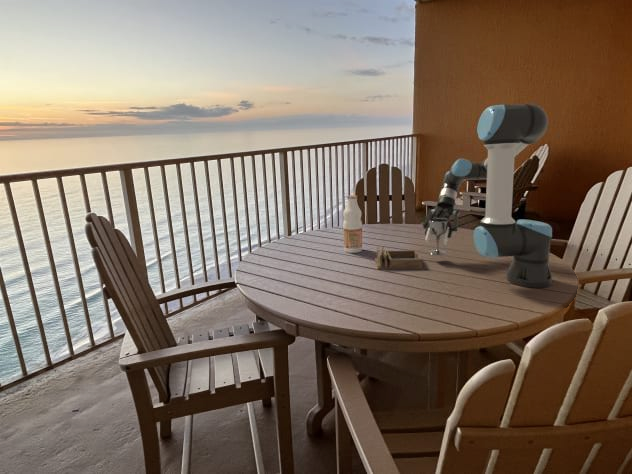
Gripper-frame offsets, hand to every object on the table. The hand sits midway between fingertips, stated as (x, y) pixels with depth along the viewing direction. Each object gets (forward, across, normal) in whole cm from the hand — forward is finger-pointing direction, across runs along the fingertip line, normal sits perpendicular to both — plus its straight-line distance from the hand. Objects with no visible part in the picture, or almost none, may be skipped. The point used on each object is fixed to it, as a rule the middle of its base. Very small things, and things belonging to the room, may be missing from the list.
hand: (435, 242), depth 166 cm
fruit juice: (+5, +42, -8) cm, 43 cm away
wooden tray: (+12, +14, -2) cm, 19 cm away
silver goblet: (+2, 0, -6) cm, 7 cm away
